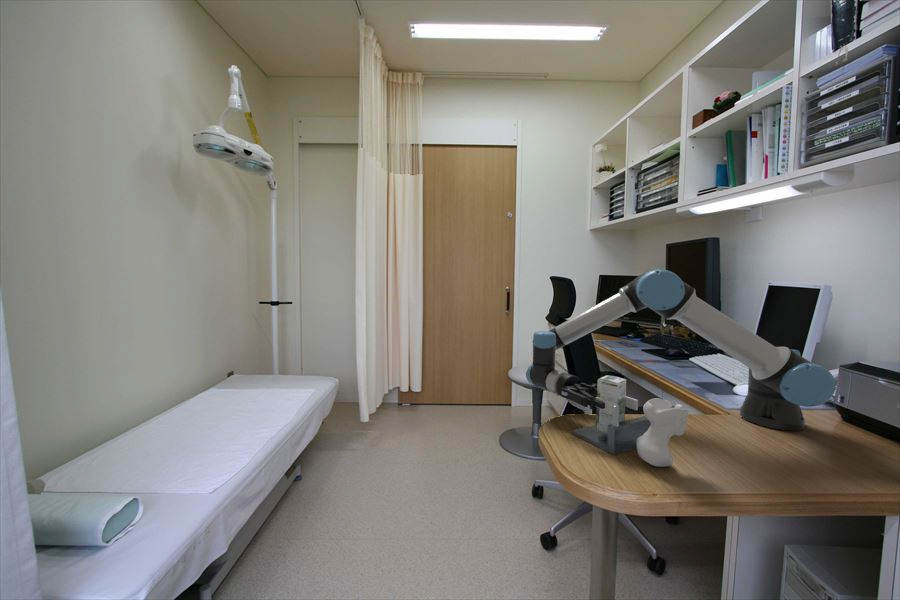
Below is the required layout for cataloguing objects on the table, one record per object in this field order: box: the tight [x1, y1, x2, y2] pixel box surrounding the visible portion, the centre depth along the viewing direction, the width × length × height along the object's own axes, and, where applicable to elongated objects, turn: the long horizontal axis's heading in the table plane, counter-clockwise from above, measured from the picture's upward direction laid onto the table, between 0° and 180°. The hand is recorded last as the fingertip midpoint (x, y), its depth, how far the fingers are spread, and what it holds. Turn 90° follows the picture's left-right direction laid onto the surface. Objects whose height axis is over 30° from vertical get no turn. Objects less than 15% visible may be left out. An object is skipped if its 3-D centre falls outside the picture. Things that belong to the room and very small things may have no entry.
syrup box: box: [595, 375, 627, 433], centre depth 99 cm, size 6×6×14 cm
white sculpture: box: [636, 397, 689, 468], centre depth 85 cm, size 10×11×15 cm
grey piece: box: [571, 405, 651, 456], centre depth 99 cm, size 14×14×12 cm
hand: (626, 407), depth 95 cm, fingers closed on syrup box, 7 cm apart
